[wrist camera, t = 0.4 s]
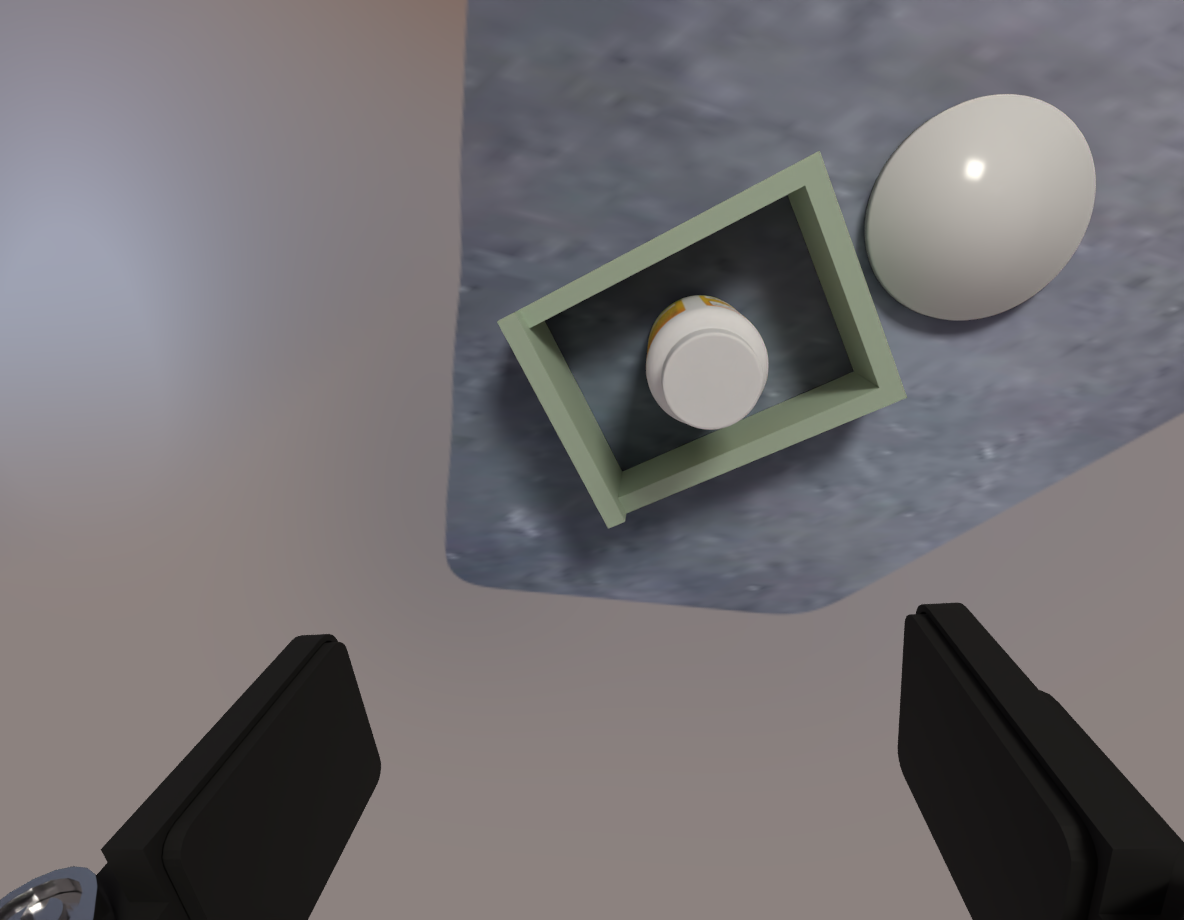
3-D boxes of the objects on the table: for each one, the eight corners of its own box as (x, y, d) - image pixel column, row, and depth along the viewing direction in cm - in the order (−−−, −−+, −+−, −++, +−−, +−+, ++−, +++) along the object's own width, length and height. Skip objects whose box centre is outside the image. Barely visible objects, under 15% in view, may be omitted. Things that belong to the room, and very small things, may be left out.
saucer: (1055, 53, 27) (1066, 47, 26) (1105, 262, 29) (1117, 262, 29) (835, 167, 29) (840, 165, 28) (900, 351, 32) (906, 353, 31)
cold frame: (799, 162, 29) (825, 147, 25) (878, 379, 32) (915, 402, 28) (519, 310, 33) (496, 321, 28) (614, 491, 36) (608, 528, 32)
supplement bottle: (656, 400, 34) (656, 457, 25) (639, 305, 32) (632, 329, 23) (752, 383, 33) (788, 435, 24) (740, 284, 32) (774, 301, 22)
